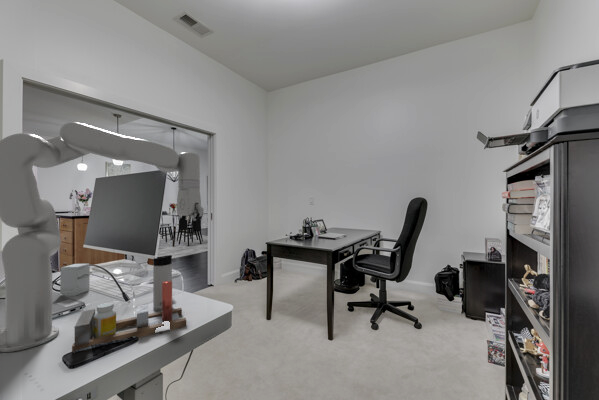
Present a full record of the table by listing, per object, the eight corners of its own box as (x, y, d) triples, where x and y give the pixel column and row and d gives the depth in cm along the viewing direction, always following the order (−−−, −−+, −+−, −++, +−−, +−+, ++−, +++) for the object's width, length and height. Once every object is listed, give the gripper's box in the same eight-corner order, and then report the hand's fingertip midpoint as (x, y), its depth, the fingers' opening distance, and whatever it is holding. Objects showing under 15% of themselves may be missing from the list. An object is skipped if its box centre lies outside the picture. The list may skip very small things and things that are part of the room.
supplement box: (76, 296, 113) (76, 267, 113) (59, 296, 113) (59, 267, 113) (90, 290, 120) (90, 263, 120) (74, 290, 120) (74, 263, 121)
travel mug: (165, 312, 94) (164, 257, 95) (149, 310, 96) (149, 256, 96) (176, 305, 101) (176, 254, 101) (161, 304, 102) (161, 253, 102)
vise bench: (72, 353, 68) (72, 327, 68) (80, 334, 78) (80, 311, 78) (186, 326, 83) (186, 304, 83) (181, 313, 93) (180, 293, 93)
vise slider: (136, 333, 78) (136, 289, 78) (136, 324, 84) (136, 283, 84) (180, 323, 84) (180, 283, 85) (177, 315, 90) (177, 277, 91)
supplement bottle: (88, 342, 74) (89, 308, 74) (101, 333, 79) (101, 301, 79) (108, 341, 74) (108, 307, 74) (120, 332, 80) (120, 301, 80)
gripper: (168, 186, 100) (168, 230, 100) (191, 183, 89) (192, 233, 89) (187, 187, 106) (187, 229, 106) (211, 184, 95) (211, 231, 95)
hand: (189, 230), depth 97 cm, fingers open, 9 cm apart
